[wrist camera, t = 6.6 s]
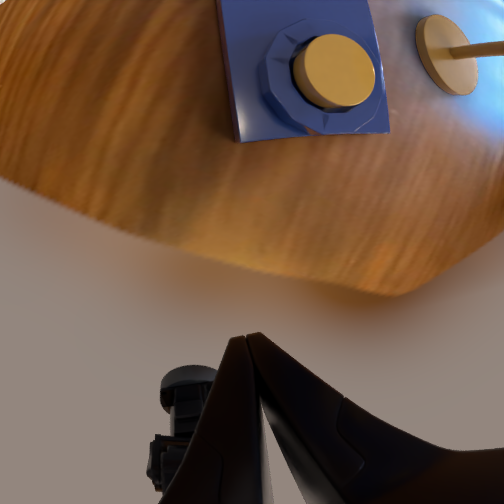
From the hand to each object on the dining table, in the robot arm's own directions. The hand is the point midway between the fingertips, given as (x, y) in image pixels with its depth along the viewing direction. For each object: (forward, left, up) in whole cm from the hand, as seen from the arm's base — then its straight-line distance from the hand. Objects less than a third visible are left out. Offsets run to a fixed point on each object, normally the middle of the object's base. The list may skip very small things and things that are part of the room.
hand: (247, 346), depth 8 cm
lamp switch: (+9, -7, -8) cm, 14 cm away
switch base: (+12, -7, -12) cm, 18 cm away
